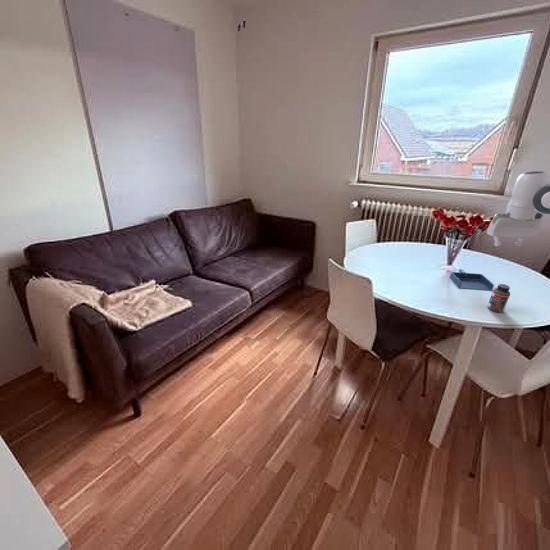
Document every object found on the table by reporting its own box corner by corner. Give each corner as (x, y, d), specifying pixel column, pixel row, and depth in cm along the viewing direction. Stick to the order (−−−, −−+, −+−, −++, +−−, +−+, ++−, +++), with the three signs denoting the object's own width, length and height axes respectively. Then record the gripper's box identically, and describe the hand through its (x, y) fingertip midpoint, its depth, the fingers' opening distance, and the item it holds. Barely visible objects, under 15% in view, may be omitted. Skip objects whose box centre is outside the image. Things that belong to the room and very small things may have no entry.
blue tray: (491, 290, 149) (494, 284, 147) (458, 288, 150) (460, 282, 149) (473, 274, 166) (475, 268, 165) (444, 271, 168) (446, 266, 167)
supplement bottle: (486, 310, 132) (495, 286, 127) (487, 304, 136) (495, 281, 131) (503, 314, 129) (512, 290, 124) (503, 308, 133) (512, 285, 129)
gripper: (501, 215, 121) (490, 248, 127) (548, 214, 123) (535, 247, 129) (489, 211, 127) (479, 243, 133) (534, 211, 129) (522, 242, 135)
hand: (507, 245), depth 131 cm, fingers open, 8 cm apart
